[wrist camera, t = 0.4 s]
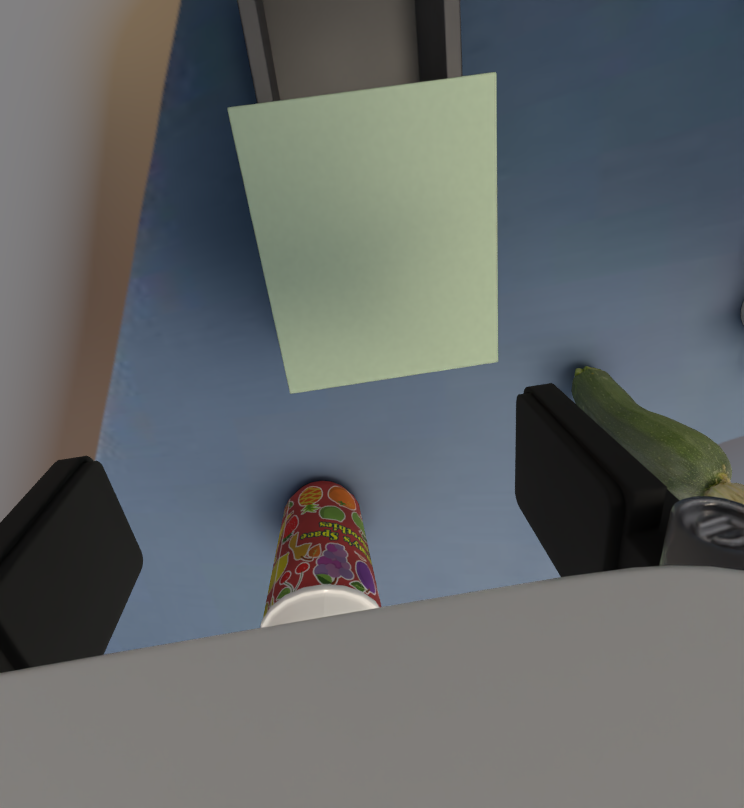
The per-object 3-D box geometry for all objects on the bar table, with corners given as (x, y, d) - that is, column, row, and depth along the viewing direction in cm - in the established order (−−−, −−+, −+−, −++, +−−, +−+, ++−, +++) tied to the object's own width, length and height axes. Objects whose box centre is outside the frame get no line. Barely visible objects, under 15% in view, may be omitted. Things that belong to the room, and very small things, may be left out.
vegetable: (577, 408, 42) (769, 583, 24) (537, 391, 41) (707, 561, 23) (607, 364, 40) (836, 517, 22) (566, 345, 39) (774, 490, 21)
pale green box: (252, 125, 30) (226, 107, 22) (447, 99, 31) (496, 71, 22) (296, 342, 37) (290, 394, 28) (456, 318, 37) (498, 362, 29)
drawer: (204, -162, 24) (157, -299, 17) (427, -187, 24) (470, -331, 17) (278, 214, 32) (267, 225, 25) (445, 190, 32) (480, 195, 25)
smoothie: (383, 486, 44) (429, 705, 26) (342, 551, 46) (357, 789, 28) (299, 453, 41) (285, 670, 23) (261, 524, 44) (222, 765, 26)
